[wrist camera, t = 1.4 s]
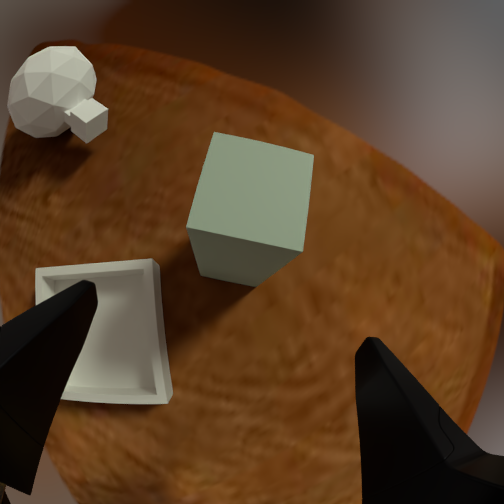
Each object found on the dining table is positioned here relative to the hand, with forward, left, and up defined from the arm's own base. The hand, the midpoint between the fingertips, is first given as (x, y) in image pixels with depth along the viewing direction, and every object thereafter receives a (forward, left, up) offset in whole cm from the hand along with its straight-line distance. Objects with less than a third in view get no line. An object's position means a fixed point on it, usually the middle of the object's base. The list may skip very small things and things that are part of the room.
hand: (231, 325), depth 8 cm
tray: (0, +9, -11) cm, 14 cm away
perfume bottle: (+19, +14, -12) cm, 26 cm away
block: (+5, -1, -11) cm, 12 cm away
